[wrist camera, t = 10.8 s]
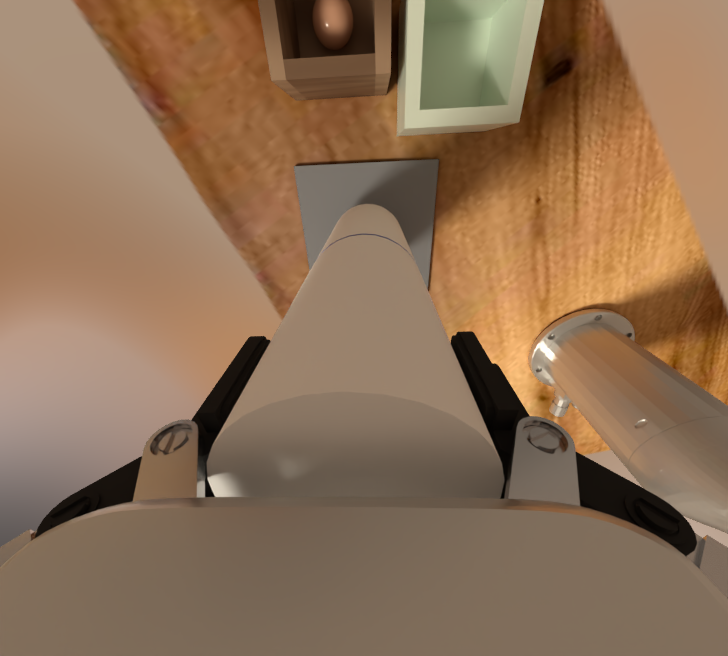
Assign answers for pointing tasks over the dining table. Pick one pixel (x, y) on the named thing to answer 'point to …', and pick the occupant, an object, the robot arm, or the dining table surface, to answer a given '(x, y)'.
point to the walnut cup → (327, 51)
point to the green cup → (463, 63)
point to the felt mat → (370, 200)
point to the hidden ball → (332, 22)
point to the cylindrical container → (358, 387)
